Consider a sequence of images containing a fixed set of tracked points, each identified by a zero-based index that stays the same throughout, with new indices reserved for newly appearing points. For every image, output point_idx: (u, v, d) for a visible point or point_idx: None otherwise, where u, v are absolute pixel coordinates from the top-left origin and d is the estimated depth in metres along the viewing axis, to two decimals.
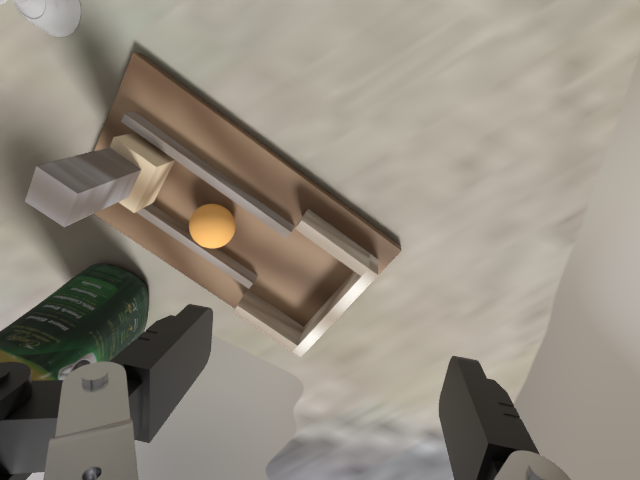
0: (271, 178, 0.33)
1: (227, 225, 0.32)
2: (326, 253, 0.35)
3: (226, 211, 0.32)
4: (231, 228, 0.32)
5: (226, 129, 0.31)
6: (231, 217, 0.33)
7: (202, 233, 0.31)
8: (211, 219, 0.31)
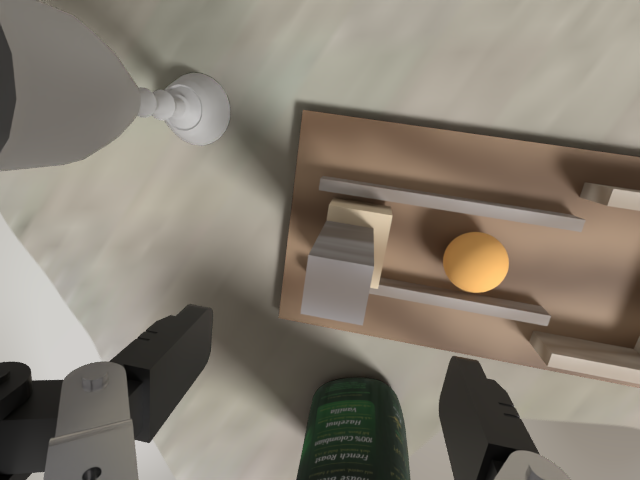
0: (519, 168, 0.24)
1: (503, 248, 0.23)
2: (632, 230, 0.24)
3: (487, 234, 0.24)
4: None
5: (440, 138, 0.24)
6: (495, 239, 0.24)
7: (482, 271, 0.22)
8: (484, 248, 0.23)
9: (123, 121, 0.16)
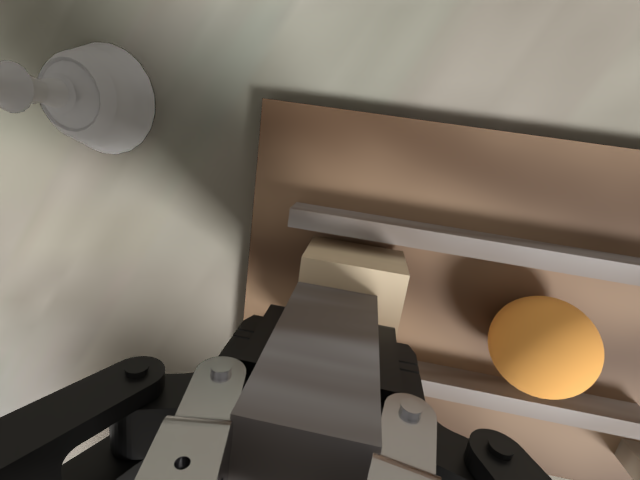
0: (614, 193, 0.15)
1: (595, 330, 0.14)
2: None
3: (564, 301, 0.14)
4: (598, 332, 0.14)
5: (485, 143, 0.15)
6: (578, 309, 0.15)
7: (565, 373, 0.13)
8: (567, 332, 0.13)
9: None
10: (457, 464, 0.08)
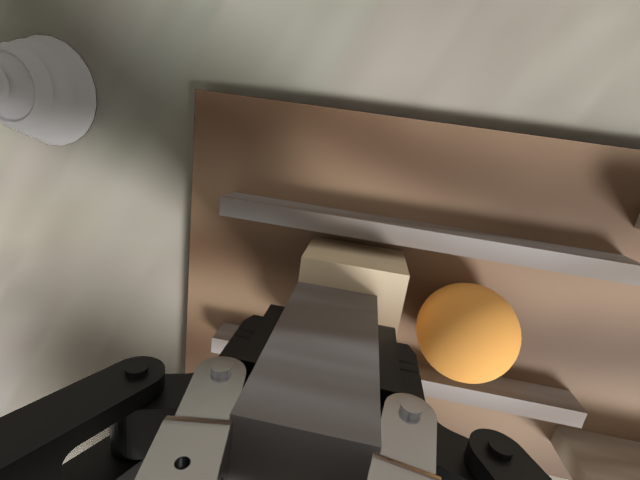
0: (537, 181, 0.15)
1: (512, 315, 0.14)
2: None
3: (485, 288, 0.15)
4: (516, 318, 0.14)
5: (411, 133, 0.15)
6: (499, 295, 0.15)
7: (478, 357, 0.13)
8: (481, 317, 0.13)
9: None
10: (457, 464, 0.08)
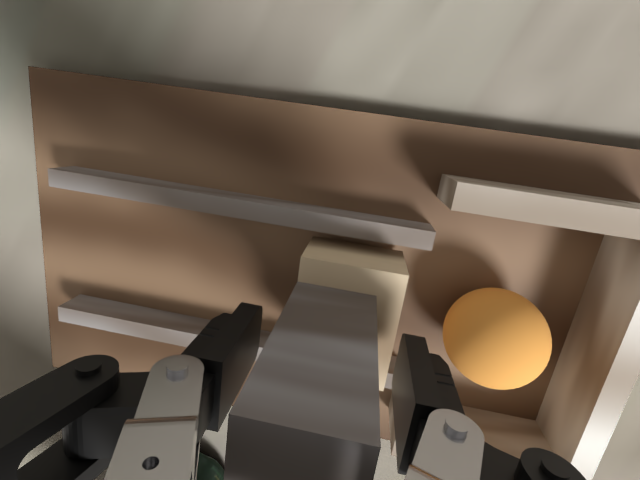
0: (345, 153, 0.16)
1: (475, 306, 0.14)
2: (519, 247, 0.16)
3: (510, 297, 0.14)
4: (481, 319, 0.14)
5: (226, 107, 0.16)
6: (506, 307, 0.14)
7: None
8: (468, 292, 0.16)
9: None
10: None
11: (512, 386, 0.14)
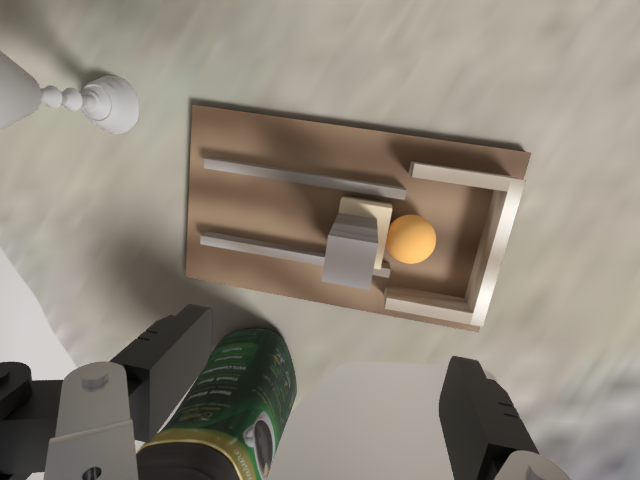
0: (360, 150, 0.31)
1: None
2: (451, 199, 0.31)
3: (411, 215, 0.29)
4: (393, 221, 0.30)
5: (299, 126, 0.31)
6: (403, 217, 0.29)
7: None
8: None
9: (16, 107, 0.22)
10: None
11: (394, 253, 0.29)
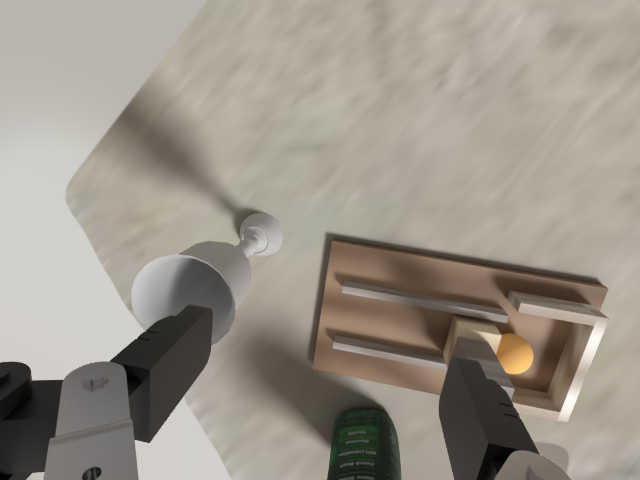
0: (469, 281, 0.39)
1: None
2: (541, 319, 0.39)
3: (513, 336, 0.37)
4: None
5: (419, 261, 0.39)
6: (506, 338, 0.37)
7: None
8: None
9: None
10: None
11: None
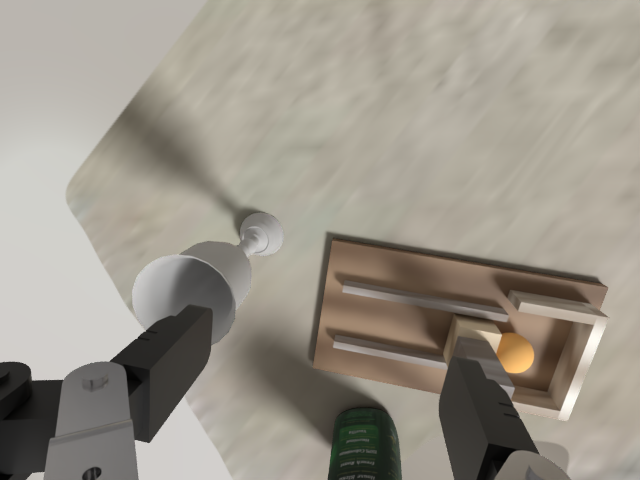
0: (469, 280, 0.39)
1: None
2: (541, 318, 0.39)
3: (514, 336, 0.37)
4: None
5: (419, 260, 0.39)
6: (507, 337, 0.37)
7: None
8: None
9: None
10: None
11: None
